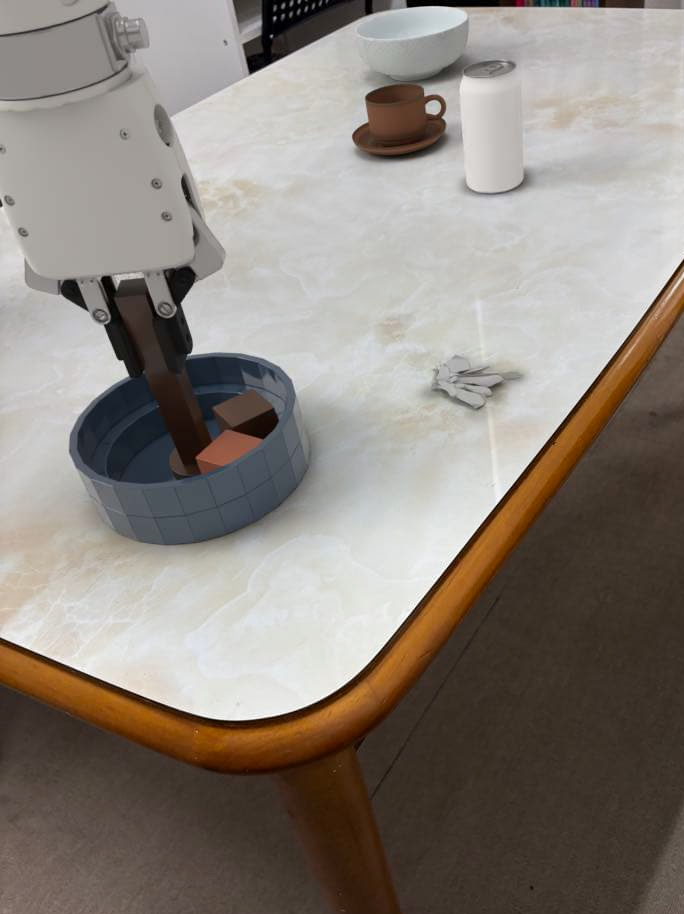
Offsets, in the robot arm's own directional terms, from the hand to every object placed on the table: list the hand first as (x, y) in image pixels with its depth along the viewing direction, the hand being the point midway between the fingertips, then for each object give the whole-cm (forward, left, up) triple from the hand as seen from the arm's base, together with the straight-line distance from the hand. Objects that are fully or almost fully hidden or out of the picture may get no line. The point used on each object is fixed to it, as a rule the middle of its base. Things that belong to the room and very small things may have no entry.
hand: (160, 362), depth 56 cm
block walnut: (+3, +4, -10) cm, 11 cm away
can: (+25, +49, -11) cm, 56 cm away
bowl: (0, +1, -11) cm, 11 cm away
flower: (+21, +9, -11) cm, 25 cm away
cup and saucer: (+14, +65, -11) cm, 68 cm away
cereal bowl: (+16, +95, -11) cm, 97 cm away
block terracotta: (+3, -1, -10) cm, 11 cm away
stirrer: (0, +1, -10) cm, 10 cm away
